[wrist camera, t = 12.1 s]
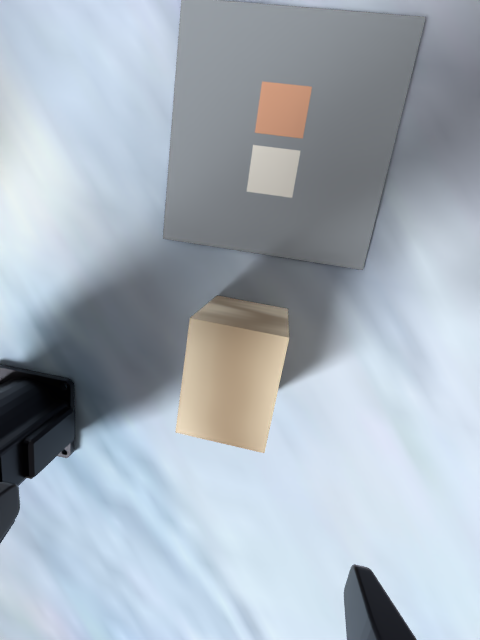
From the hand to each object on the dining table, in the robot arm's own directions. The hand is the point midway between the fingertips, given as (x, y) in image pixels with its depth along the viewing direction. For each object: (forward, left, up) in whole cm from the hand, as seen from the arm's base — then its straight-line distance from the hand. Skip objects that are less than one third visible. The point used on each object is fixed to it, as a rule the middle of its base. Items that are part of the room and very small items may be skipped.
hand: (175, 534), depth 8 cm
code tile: (0, +13, -13) cm, 18 cm away
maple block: (0, +1, -13) cm, 13 cm away
